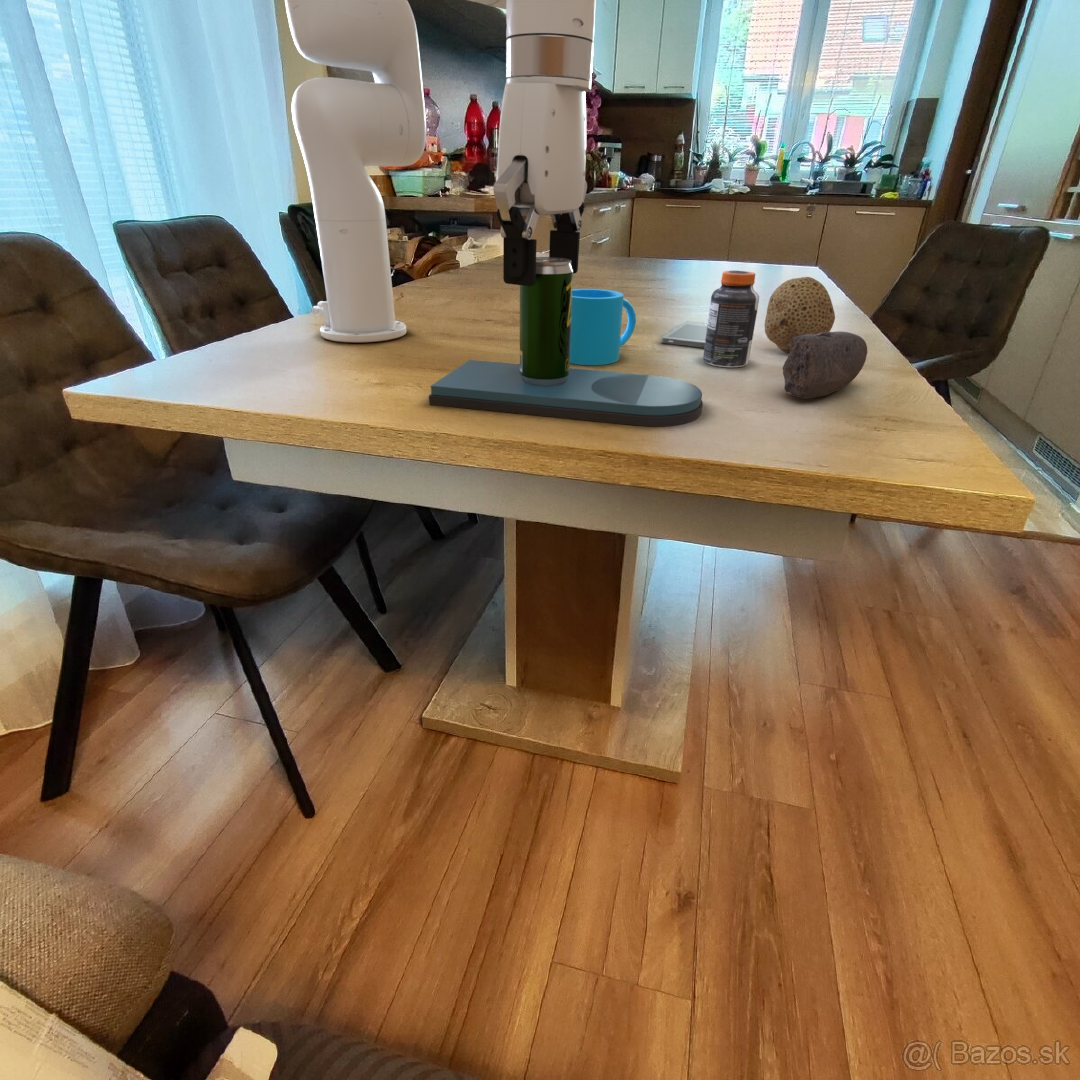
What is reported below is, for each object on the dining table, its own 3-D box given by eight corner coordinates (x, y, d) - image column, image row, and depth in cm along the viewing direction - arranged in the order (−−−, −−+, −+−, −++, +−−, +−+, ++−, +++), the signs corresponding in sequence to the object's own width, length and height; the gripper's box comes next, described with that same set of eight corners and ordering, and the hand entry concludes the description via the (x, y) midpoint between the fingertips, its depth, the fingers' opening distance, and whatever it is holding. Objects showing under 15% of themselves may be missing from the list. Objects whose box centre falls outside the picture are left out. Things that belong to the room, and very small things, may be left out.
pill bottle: (756, 363, 85) (772, 271, 79) (734, 371, 81) (750, 275, 76) (716, 355, 88) (729, 267, 83) (693, 362, 85) (706, 270, 79)
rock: (836, 377, 79) (850, 319, 76) (877, 387, 76) (894, 326, 72) (763, 397, 71) (775, 333, 68) (804, 409, 68) (820, 343, 64)
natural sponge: (833, 351, 91) (851, 277, 86) (814, 363, 85) (833, 284, 80) (771, 342, 96) (784, 271, 91) (749, 353, 90) (762, 277, 85)
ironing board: (429, 404, 67) (427, 385, 66) (469, 375, 77) (468, 358, 76) (698, 432, 61) (701, 411, 60) (703, 396, 71) (706, 378, 70)
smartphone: (716, 349, 91) (716, 344, 91) (660, 342, 94) (661, 337, 94) (736, 330, 103) (737, 325, 102) (686, 325, 106) (687, 320, 105)
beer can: (525, 387, 66) (525, 263, 60) (515, 374, 71) (514, 256, 65) (574, 385, 67) (580, 262, 61) (561, 372, 72) (565, 256, 66)
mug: (584, 368, 81) (587, 300, 77) (546, 355, 87) (547, 291, 83) (652, 356, 87) (658, 293, 83) (612, 344, 93) (617, 285, 89)
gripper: (553, 81, 64) (547, 265, 72) (458, 55, 50) (464, 285, 59) (624, 79, 61) (608, 271, 70) (542, 52, 47) (536, 294, 56)
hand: (542, 278), depth 64 cm, fingers open, 9 cm apart
